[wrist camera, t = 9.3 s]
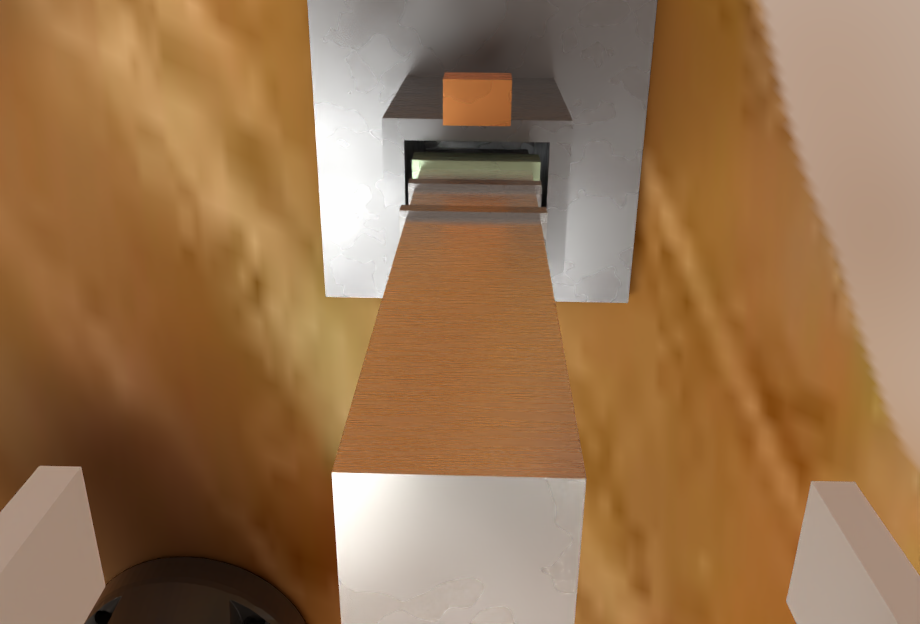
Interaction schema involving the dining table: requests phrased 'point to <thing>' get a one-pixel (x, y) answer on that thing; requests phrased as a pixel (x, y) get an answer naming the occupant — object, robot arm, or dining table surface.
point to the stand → (482, 122)
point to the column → (463, 414)
